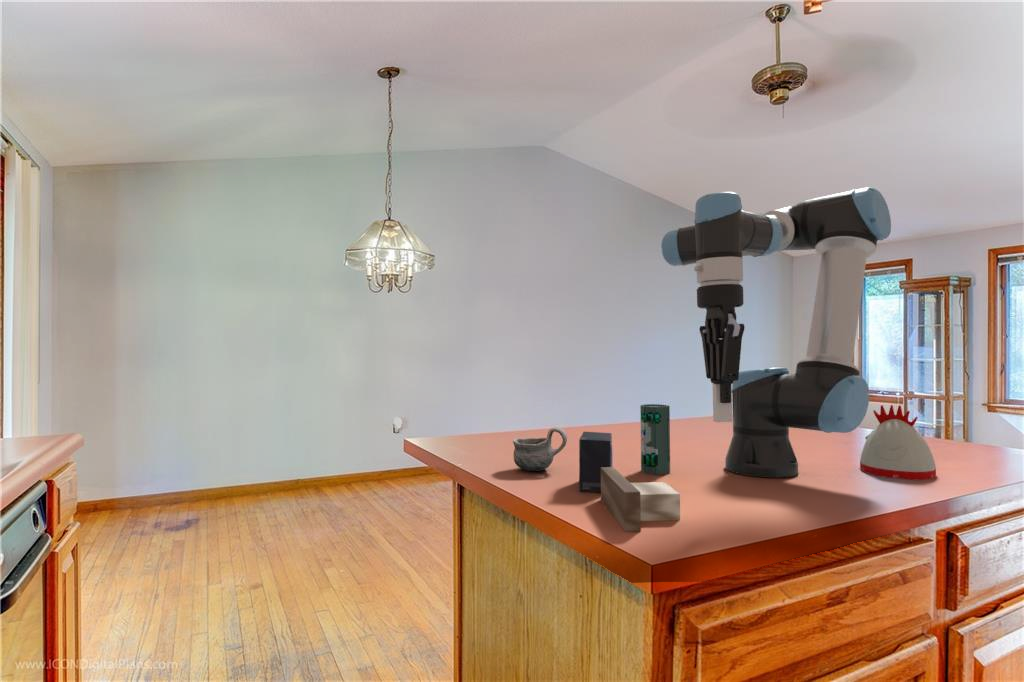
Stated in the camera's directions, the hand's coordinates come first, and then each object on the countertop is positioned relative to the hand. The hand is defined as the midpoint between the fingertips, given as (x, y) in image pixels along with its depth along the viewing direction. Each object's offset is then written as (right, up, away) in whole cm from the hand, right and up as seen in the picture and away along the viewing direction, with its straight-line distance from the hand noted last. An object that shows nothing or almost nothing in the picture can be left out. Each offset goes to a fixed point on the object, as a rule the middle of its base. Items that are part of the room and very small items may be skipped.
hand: (722, 421), depth 96 cm
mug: (-30, -16, +33) cm, 48 cm away
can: (-4, -16, +30) cm, 35 cm away
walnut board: (-18, -16, -1) cm, 24 cm away
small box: (-19, -16, +18) cm, 31 cm away
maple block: (-13, -16, -1) cm, 20 cm away
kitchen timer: (+49, -16, +28) cm, 59 cm away
